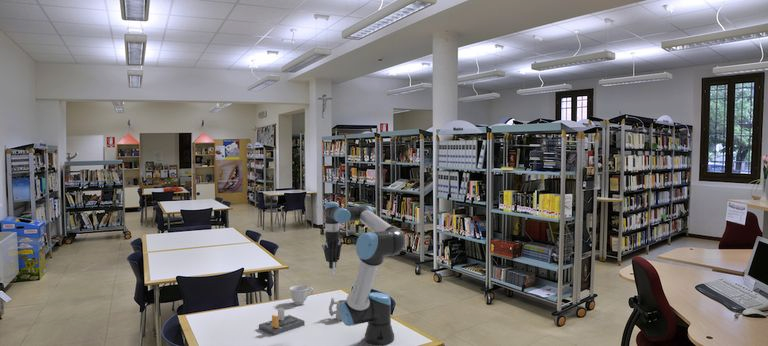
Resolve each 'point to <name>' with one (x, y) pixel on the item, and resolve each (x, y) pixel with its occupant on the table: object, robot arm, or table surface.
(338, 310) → the mug
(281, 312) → the fader white
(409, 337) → the table surface
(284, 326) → the console
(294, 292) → the teacup
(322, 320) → the table surface
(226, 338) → the table surface
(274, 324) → the fader orange
